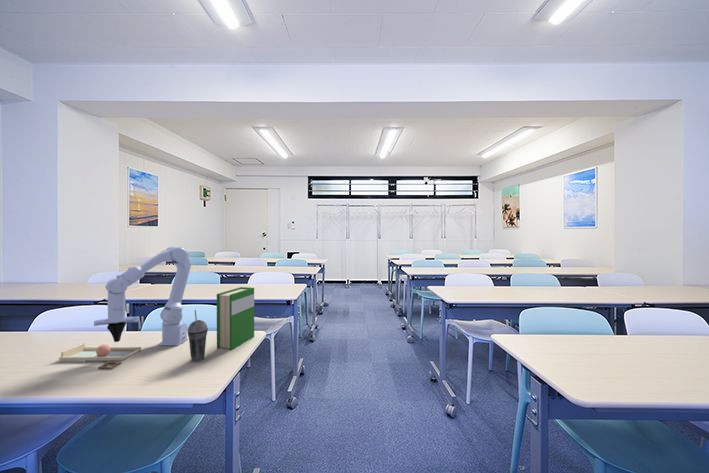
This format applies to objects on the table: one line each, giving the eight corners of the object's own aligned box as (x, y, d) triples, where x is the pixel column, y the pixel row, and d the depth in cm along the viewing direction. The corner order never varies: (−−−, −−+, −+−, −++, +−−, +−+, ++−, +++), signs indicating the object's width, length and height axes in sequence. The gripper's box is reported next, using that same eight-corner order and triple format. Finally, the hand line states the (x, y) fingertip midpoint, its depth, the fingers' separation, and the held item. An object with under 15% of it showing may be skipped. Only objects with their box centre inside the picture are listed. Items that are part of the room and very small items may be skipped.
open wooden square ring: (121, 363, 115) (121, 361, 115) (111, 369, 110) (111, 367, 110) (108, 363, 115) (108, 361, 115) (97, 369, 110) (97, 367, 110)
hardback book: (231, 350, 128) (231, 294, 128) (216, 348, 130) (216, 293, 130) (254, 336, 146) (254, 287, 145) (240, 335, 147) (240, 287, 147)
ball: (96, 343, 121) (96, 352, 122) (95, 350, 117) (95, 359, 119) (110, 341, 123) (110, 350, 125) (110, 348, 120) (110, 357, 121)
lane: (140, 351, 128) (140, 342, 128) (120, 361, 117) (120, 352, 117) (84, 351, 127) (84, 342, 127) (59, 362, 116) (59, 352, 116)
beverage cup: (212, 357, 121) (212, 308, 121) (197, 364, 114) (197, 312, 114) (198, 354, 123) (198, 306, 123) (182, 361, 117) (182, 310, 116)
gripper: (140, 304, 128) (141, 335, 128) (99, 307, 123) (99, 340, 123) (135, 308, 122) (135, 341, 122) (91, 311, 117) (91, 346, 117)
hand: (117, 341), depth 122 cm, fingers closed
